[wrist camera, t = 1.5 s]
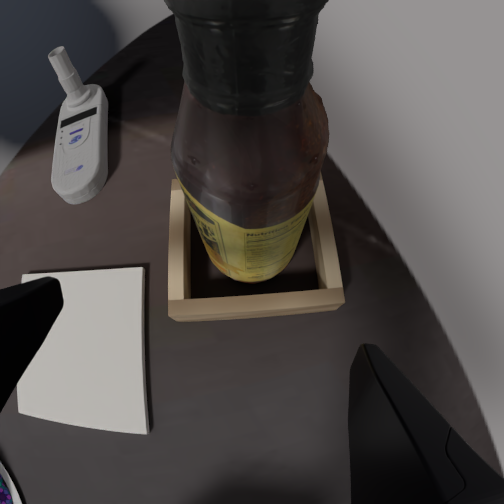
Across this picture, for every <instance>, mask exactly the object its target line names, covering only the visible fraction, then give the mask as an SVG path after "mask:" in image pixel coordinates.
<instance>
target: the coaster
mask: <svg viewBox="0 0 504 504" xmlns="http://www.w3.org/2000/svg"><path fill="white" fill-rule="evenodd" d="M46 276H51V277H54V278H57V279H58V280H59V281H60V284H61V289H62V294H63V299H64V305H63V308H62V310H61V312H60V314H59V316H58V317H57V319H56V321H55V323H54V324H53V326H52V328H51V330H50V332H49V333H48V335H47V337H46V339H45V341H44V342H43V344H42V346H41V347H40V349H39V350H38V352H37V353H36V355H35V356H34V358H33V359H32V361H31V363H30V364H29V366H28V367H27V369H26V370H25V372H24V374H23V375H22V377H21V378H20V380H19V382H18V383H17V395H18V409H19V413H22V414H26V415H29V416H33V417H38V418H42V419H46V420H51V421H55V422H60V423H65V424H70V425H76V426H82V427H88V428H94V429H101V430H109V431H117V432H126V433H136V434H149V433H150V431H149V420H148V407H147V393H146V374H145V343H144V295H145V269H144V268H143V267H135V268H120V269H105V270H89V271H73V272H57V273H40V274H23V275H22V283H25V282H28V281H32V280H35V279H39V278H42V277H46Z"/></svg>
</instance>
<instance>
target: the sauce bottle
mask: <svg viewBox="0 0 504 504" xmlns="http://www.w3.org/2000/svg"><path fill="white" fill-rule="evenodd" d="M164 2H165V3H166V5H167V6H168V8H169V9H170V10H171V11H172V12H173V13H174V15H175V21H176V25H177V30H178V34H179V39H180V42H181V50H182V55H183V61H184V68H183V78H184V80H185V83H184V87H183V92H182V97H181V102H180V107H179V113H178V117H177V121H176V125H175V129H174V134H173V138H172V142H171V160H172V164H173V167H174V170H175V173H176V176H177V179H178V181H179V184H180V186H181V189H182V191H183V194H184V196H185V198H186V201H187V204H188V206H189V209H190V211H191V213H192V216H193V219H194V221H195V224H196V226H197V229H198V231H199V233H200V236H201V238H202V241H203V243H204V245H205V248H206V250H207V252H208V255H209V257H210V259H211V261H212V262H213V264H214V265H215V266H216V267H217V268H218V269H219V270H220V272H222V273H223V274H225V275H227V276H228V277H231V278H232V279H234V280H237V281H240V282H244V283H248V284H256V283H260V282H263V281H266V280H268V279H271V278H272V277H274V276H275V275H277V274H278V273H280V272H282V271H283V270H284V269H285V268H286V267H287V265H288V263H289V262H290V260H291V258H292V256H293V254H294V252H295V249H296V246H297V243H298V241H299V238H300V235H301V233H302V230H303V227H304V224H305V222H306V219H307V216H308V213H309V211H310V208H311V205H312V202H313V200H314V197H315V194H316V191H317V188H318V185H319V180H320V171H321V169H322V165H323V162H324V159H325V156H326V153H327V147H328V142H329V130H328V118H327V114H326V111H325V108H324V106H323V103H322V98H321V97H320V96H319V95H318V94H317V93H315V92H314V90H313V88H312V85H311V84H310V82H309V81H310V79H311V78H312V76H313V62H312V59H311V57H312V52H313V46H314V41H315V34H316V27H317V24H318V14H319V12H320V11H321V10H322V9H323V8H324V5H325V4H326V3H327V2H328V0H164Z"/></svg>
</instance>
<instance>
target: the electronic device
mask: <svg viewBox="0 0 504 504" xmlns="http://www.w3.org/2000/svg"><path fill="white" fill-rule="evenodd" d="M48 58H49V60H50V62H51V64H52V65H53V67H54V69H55V71H56V73H57V75H58V77H59V78H58V79H59V81H60V83H61V85H62V87H63V88H64V90H65V92H66V93H67V95H68V96H67V98H66V99H65V101H64V102H63V104H62V107H61V110H60V115H59V121H58V127H57V134H56V141H55V148H54V157H53V166H52V176H51V182H52V186H53V189H54V190H55V191H56V192H57V193H58V194H59V195H60V196H61V197H62V198H63V199H64V200H65V201H66V202H67V203H70V204H80V203H83V202H86V201H88V200H90V199H91V198H93V197H94V196H96V195H97V194H98V193H99V192H100V191H101V189H102V188H103V186H104V184H105V182H106V179H107V176H108V151H107V130H108V101H107V98H106V96H105V93H104V91H103V89H102V88H101V87H100V86H99V85H94V84H91V85H85V86H83V84H82V82H81V79H80V77H79V75H78V73H77V71H76V69H75V68H73V66H72V63H71V62H70V59H69V57H68V55H67V53H66V51H65V49H64V47H63V46H61V47H58V48H56V49H54V50H53V51H52V52H50V54H49V55H48Z"/></svg>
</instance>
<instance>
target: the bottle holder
mask: <svg viewBox="0 0 504 504" xmlns="http://www.w3.org/2000/svg"><path fill="white" fill-rule="evenodd" d="M308 219H309V226H310V232H311V238H312V244H313V251H314V258H315V264H316V271H317V279H318V286H319V290H308V291H297V292H285V293H273V294H260V295H247V296H232V297H217V298H200V299H191V211H190V209H189V206H188V204H187V201H186V198H185V196H184V194H183V191H182V189H181V186H180V184H179V181H178V179H172V188H171V205H170V227H169V260H168V316H169V317H171V318H172V319H174V320H176V321H177V322H189V321H210V320H228V319H243V318H257V317H270V316H281V315H292V314H303V313H313V312H322V311H331V310H336V309H337V308H339V307H340V306H341V305H342V304H344V303H345V299H344V292H343V285H342V279H341V273H340V267H339V261H338V255H337V249H336V244H335V238H334V233H333V228H332V222H331V217H330V212H329V207H328V203H327V198H326V193H325V188H324V184H323V179H322V175H321V171H320V180H319V185H318V188H317V191H316V194H315V197H314V200H313V202H312V205H311V208H310V211H309V213H308Z"/></svg>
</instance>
